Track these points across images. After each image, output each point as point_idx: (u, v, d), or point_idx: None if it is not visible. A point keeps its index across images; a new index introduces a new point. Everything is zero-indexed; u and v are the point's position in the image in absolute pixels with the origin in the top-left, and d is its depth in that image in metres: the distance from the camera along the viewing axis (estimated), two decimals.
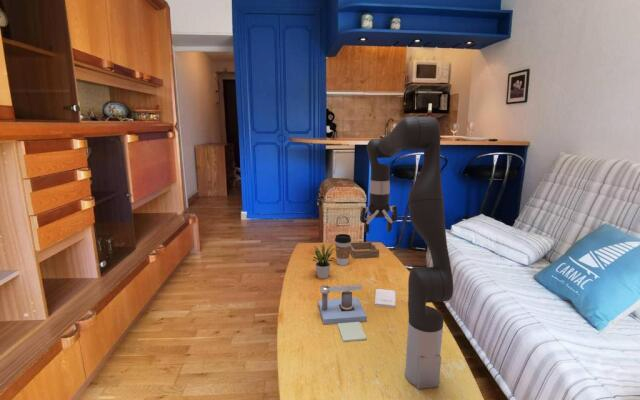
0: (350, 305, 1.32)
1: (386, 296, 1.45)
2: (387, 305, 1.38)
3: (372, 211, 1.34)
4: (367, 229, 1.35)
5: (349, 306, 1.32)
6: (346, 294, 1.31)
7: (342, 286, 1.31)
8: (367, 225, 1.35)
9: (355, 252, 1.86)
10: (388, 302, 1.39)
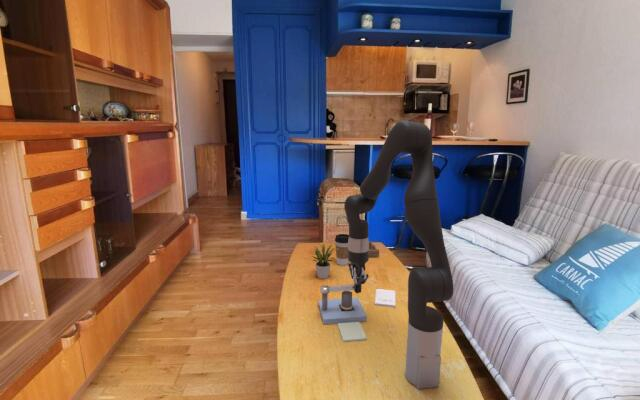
0: (350, 305, 1.32)
1: (386, 296, 1.45)
2: (387, 305, 1.38)
3: None
4: (360, 288, 1.30)
5: (349, 306, 1.32)
6: (346, 294, 1.31)
7: (342, 286, 1.32)
8: (360, 284, 1.30)
9: None
10: (389, 302, 1.39)
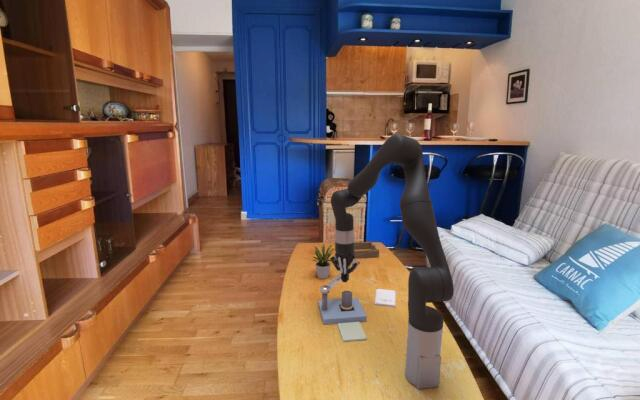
0: (350, 305, 1.32)
1: (386, 296, 1.45)
2: (387, 305, 1.38)
3: None
4: None
5: (349, 306, 1.32)
6: (346, 294, 1.31)
7: (333, 280, 1.36)
8: None
9: (355, 252, 1.86)
10: (389, 302, 1.40)
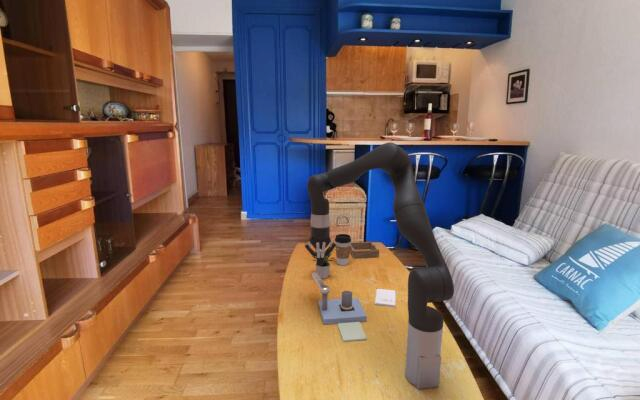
0: (350, 305, 1.32)
1: (386, 296, 1.45)
2: (387, 305, 1.38)
3: None
4: None
5: (349, 306, 1.32)
6: (346, 294, 1.31)
7: (319, 279, 1.37)
8: None
9: (355, 252, 1.86)
10: (389, 302, 1.40)
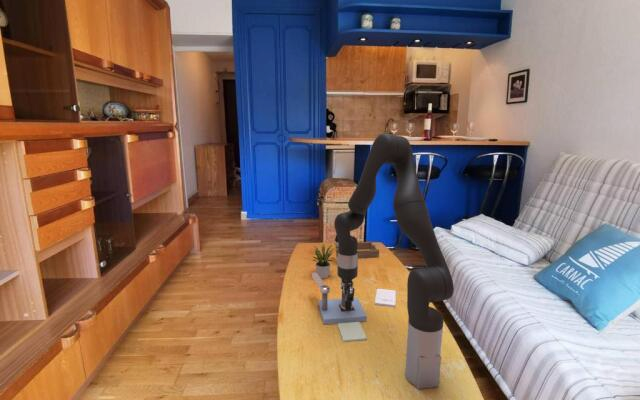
0: None
1: (386, 295, 1.45)
2: (387, 305, 1.39)
3: None
4: (350, 305, 1.31)
5: None
6: None
7: (319, 279, 1.37)
8: (350, 301, 1.30)
9: None
10: (389, 302, 1.40)
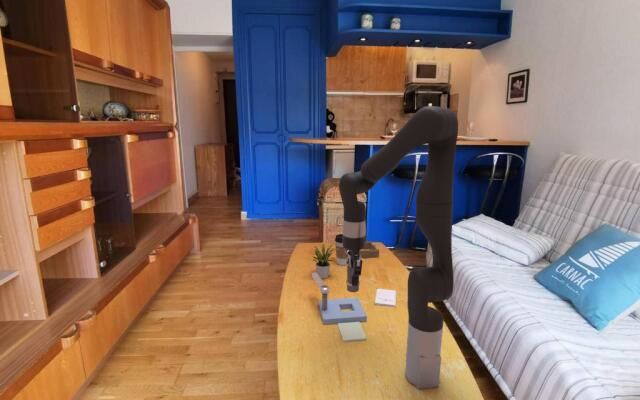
0: None
1: (386, 295, 1.45)
2: (387, 305, 1.39)
3: None
4: (358, 281, 1.14)
5: None
6: None
7: (319, 279, 1.37)
8: (357, 276, 1.14)
9: None
10: (389, 302, 1.40)
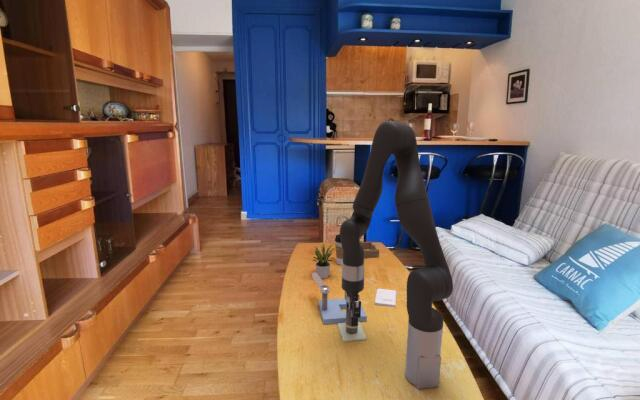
0: None
1: (386, 295, 1.45)
2: (387, 305, 1.39)
3: None
4: (357, 322, 1.16)
5: None
6: None
7: (319, 279, 1.37)
8: (357, 317, 1.16)
9: None
10: (389, 302, 1.40)
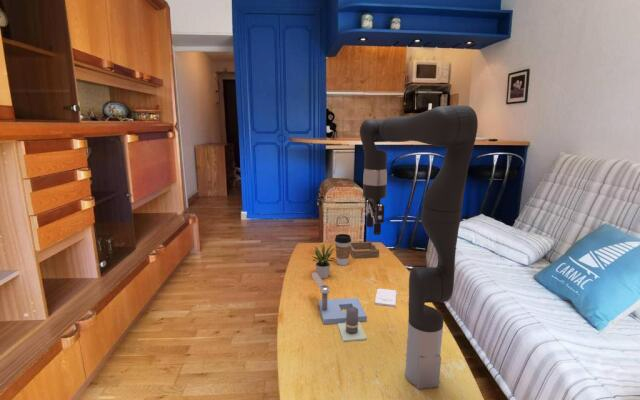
0: (356, 323, 1.19)
1: (386, 295, 1.45)
2: (387, 304, 1.39)
3: None
4: (380, 229, 1.12)
5: (355, 324, 1.19)
6: (351, 311, 1.19)
7: (319, 279, 1.37)
8: (380, 225, 1.11)
9: (355, 252, 1.86)
10: (389, 302, 1.40)
